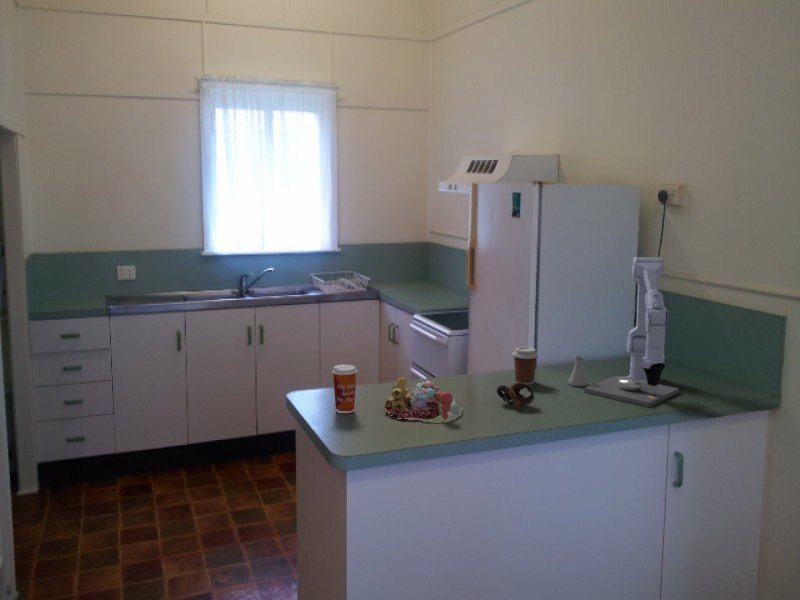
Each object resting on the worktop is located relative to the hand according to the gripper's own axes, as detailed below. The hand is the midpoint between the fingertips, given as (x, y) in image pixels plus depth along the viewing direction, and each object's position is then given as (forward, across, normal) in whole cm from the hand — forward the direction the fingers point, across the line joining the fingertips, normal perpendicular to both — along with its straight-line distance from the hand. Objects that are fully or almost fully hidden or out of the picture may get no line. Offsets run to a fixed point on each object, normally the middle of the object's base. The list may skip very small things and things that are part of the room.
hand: (652, 386), depth 249 cm
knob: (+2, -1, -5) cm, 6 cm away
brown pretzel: (+5, +35, -32) cm, 47 cm away
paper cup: (+5, +73, -70) cm, 101 cm away
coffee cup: (+4, +10, -42) cm, 43 cm away
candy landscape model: (+5, +57, -51) cm, 77 cm away
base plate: (+4, -2, -8) cm, 9 cm away
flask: (+4, 0, -26) cm, 26 cm away
